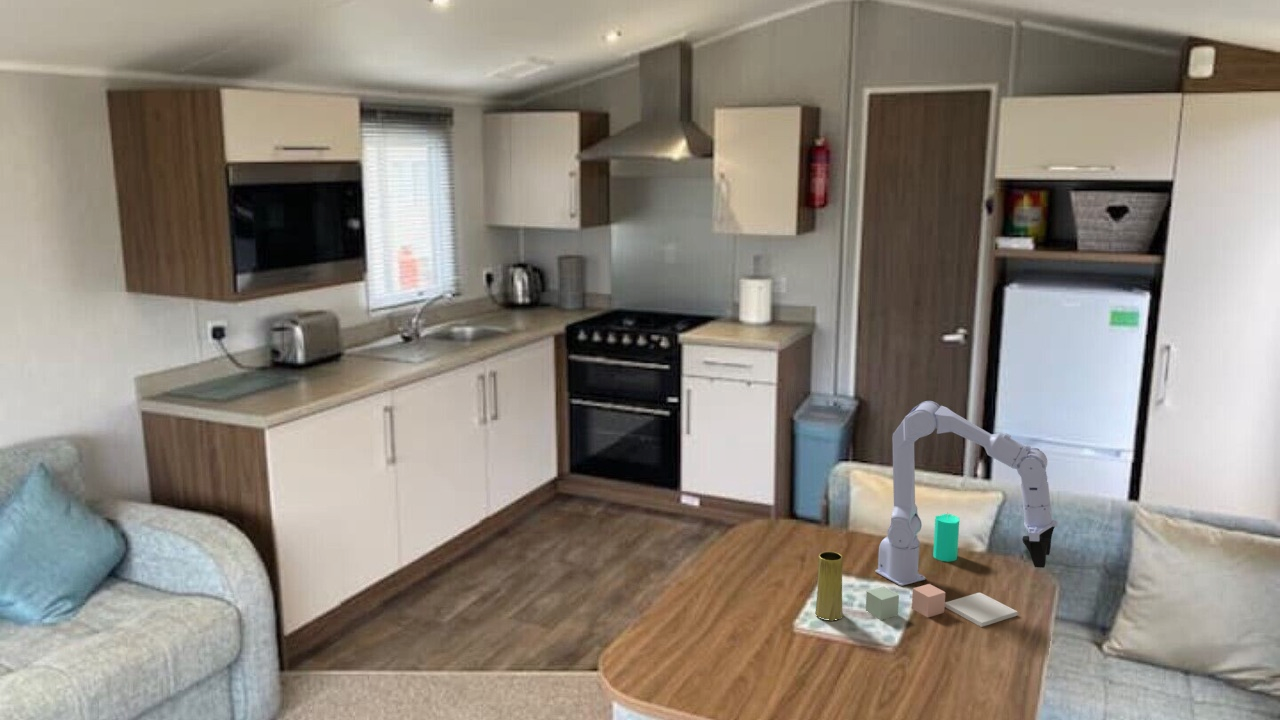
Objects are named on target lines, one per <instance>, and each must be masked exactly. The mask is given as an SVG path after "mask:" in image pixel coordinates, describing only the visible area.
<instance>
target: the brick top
mask: <svg viewBox="0 0 1280 720" xmlns="http://www.w3.org/2000/svg"><path fill="white" fill-rule="evenodd" d="M911 600H912V601H911V609H912V610H913V611H915V612H917V613H919V614H920V615H922V616H924V617H925V618H930V617H934V616H938V615H940V614H944V613H945V608H946V607H945V602H946V592H945V591H944V590H942V589H940V588H938V587H936V586H935V585H932V584H931V583H927V584H924V585H921V586H917V587H913V588H912V598H911Z"/></svg>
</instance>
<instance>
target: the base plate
mask: <svg viewBox="0 0 1280 720" xmlns="http://www.w3.org/2000/svg"><path fill="white" fill-rule="evenodd" d="M945 608H946V609H948V610H950V611H952V612H953V613H954V614H956V615H959V616H960V617H962V618H964V619H966V620H968V621H970V622H971V623H974V624H975V625H977V626H978V627H981V628H983V627H986V626H989V625H992V624H996V623H998V622H1001V621H1004V620H1008V619H1010V618H1011V619H1012V618H1015V617H1016V616H1017V617H1018V611H1017V610H1016V609H1013V608H1011V607H1009V606H1008V605H1006V604H1004V603H1002V602H1000V601H998V600H996V599H994V598H992V597H990V596H988V595H986V594H984V593H982V592H976V593H973V594H970V595H966V596H963V597H959V598H955V599H953V600H949V601H945Z"/></svg>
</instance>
